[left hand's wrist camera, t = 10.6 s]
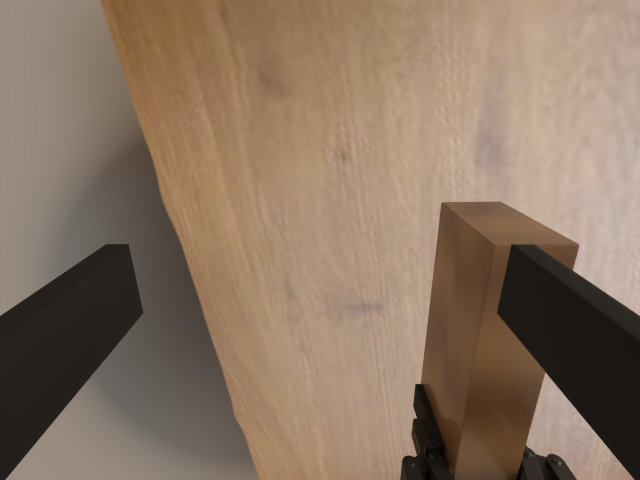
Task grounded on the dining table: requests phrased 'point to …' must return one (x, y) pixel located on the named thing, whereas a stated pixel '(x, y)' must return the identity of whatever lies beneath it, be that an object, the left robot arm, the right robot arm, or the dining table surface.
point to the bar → (482, 340)
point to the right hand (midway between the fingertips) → (446, 395)
